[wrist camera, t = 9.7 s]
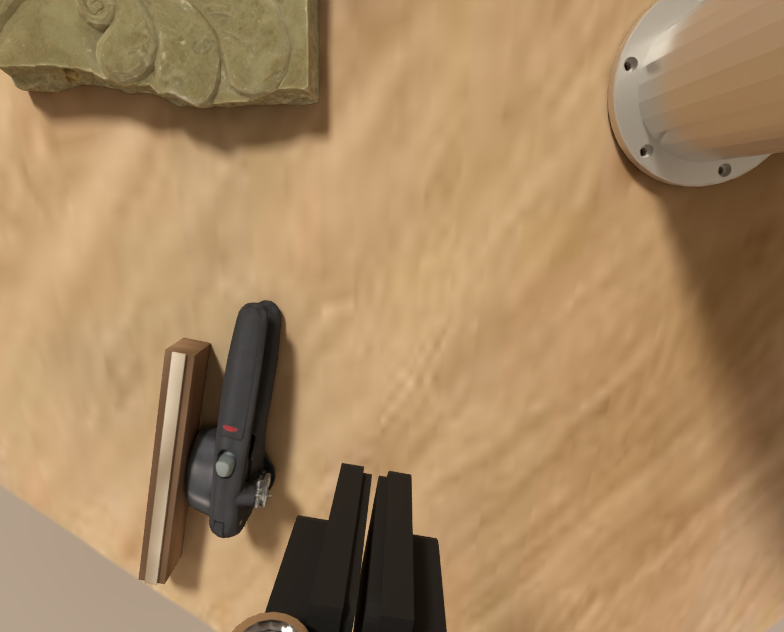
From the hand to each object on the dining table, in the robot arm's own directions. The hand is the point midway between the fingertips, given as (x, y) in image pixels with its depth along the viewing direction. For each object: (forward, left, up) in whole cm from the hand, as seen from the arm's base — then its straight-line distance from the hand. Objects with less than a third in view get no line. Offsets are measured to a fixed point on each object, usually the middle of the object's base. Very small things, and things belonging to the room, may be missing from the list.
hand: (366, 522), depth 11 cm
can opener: (+8, +10, -25) cm, 28 cm away
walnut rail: (+13, +15, -25) cm, 32 cm away
